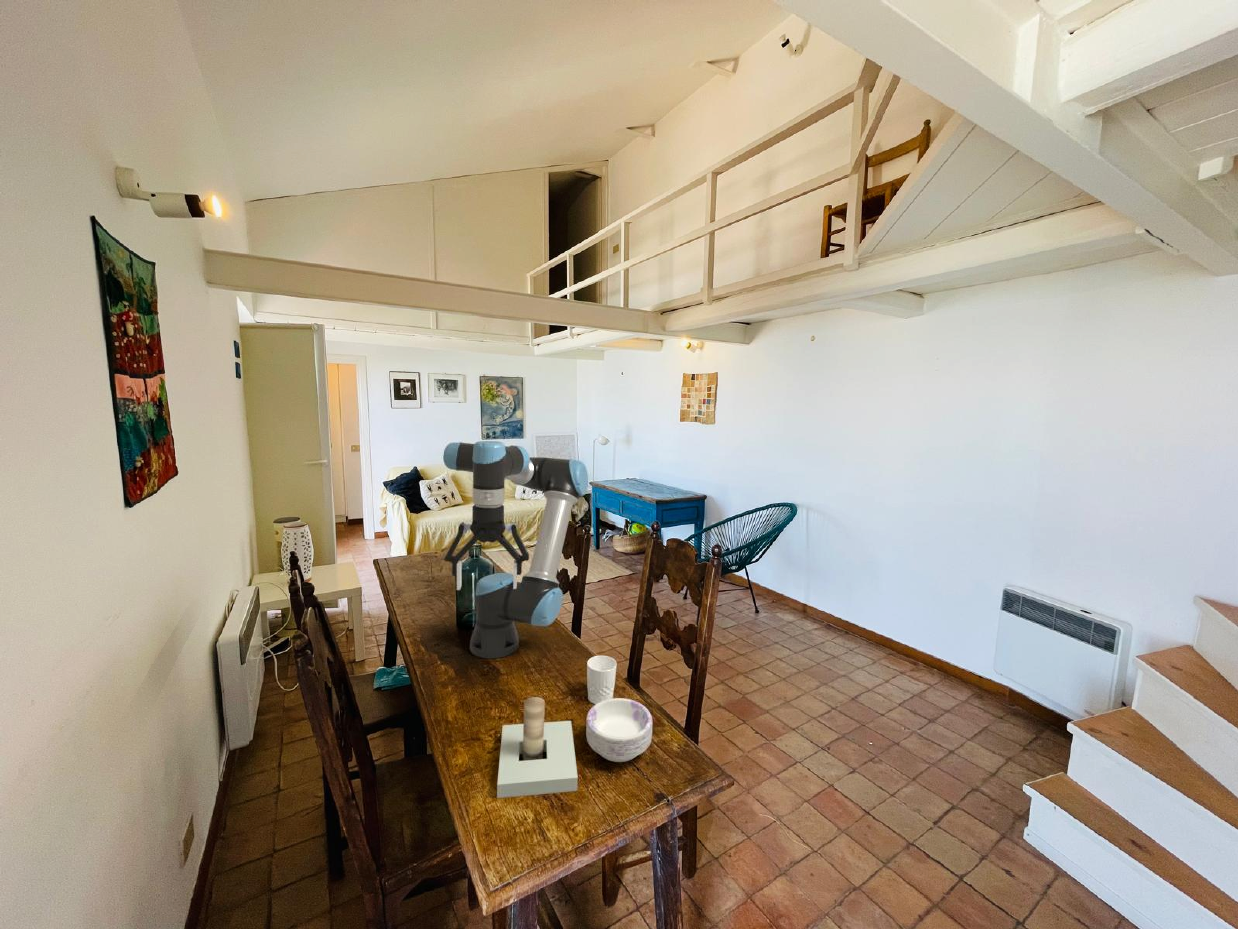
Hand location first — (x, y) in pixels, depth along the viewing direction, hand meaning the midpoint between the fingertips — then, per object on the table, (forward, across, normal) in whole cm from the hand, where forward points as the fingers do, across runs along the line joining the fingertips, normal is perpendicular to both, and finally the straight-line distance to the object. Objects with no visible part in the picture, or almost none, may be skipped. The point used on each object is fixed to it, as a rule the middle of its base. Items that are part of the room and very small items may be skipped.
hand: (487, 587), depth 123 cm
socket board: (+32, +13, -22) cm, 41 cm away
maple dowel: (+32, +12, -22) cm, 40 cm away
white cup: (+32, +30, 0) cm, 44 cm away
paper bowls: (+32, +32, -20) cm, 49 cm away
